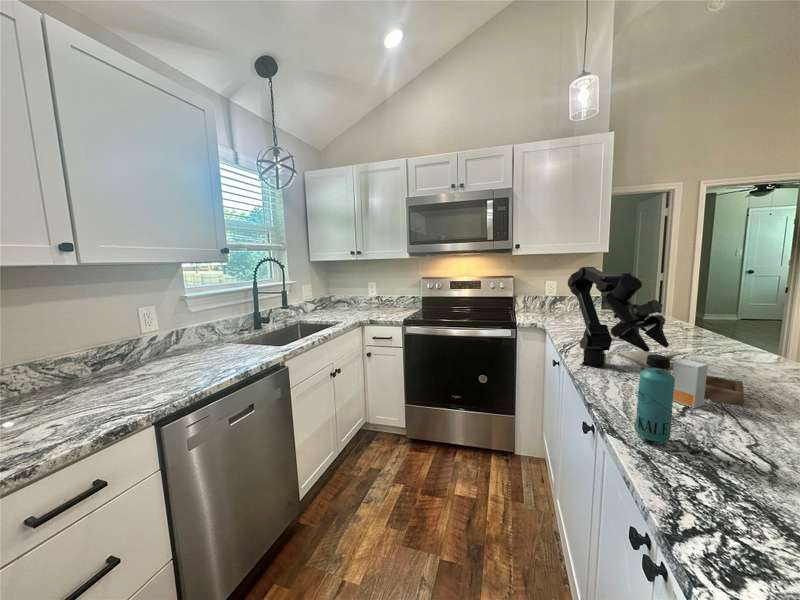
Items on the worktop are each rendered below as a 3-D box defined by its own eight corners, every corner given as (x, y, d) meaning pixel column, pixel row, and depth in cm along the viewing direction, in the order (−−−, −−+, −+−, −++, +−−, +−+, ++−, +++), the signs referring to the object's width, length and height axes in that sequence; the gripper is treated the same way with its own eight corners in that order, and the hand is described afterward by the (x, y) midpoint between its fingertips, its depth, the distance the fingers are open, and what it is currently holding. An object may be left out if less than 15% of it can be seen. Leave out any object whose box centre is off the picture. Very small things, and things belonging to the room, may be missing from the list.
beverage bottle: (653, 432, 77) (660, 351, 74) (678, 448, 71) (686, 360, 68) (627, 433, 77) (632, 352, 74) (649, 450, 70) (656, 361, 68)
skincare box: (669, 400, 93) (672, 360, 91) (678, 397, 94) (682, 358, 93) (694, 409, 87) (698, 366, 86) (704, 406, 89) (708, 364, 87)
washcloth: (649, 371, 116) (650, 363, 116) (615, 356, 134) (615, 349, 133) (681, 370, 116) (682, 362, 116) (643, 355, 134) (643, 348, 134)
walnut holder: (684, 394, 96) (685, 383, 96) (687, 382, 105) (688, 372, 104) (742, 406, 88) (744, 394, 87) (741, 392, 96) (742, 381, 96)
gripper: (622, 293, 95) (662, 338, 87) (661, 289, 103) (701, 330, 94) (596, 316, 104) (629, 358, 95) (633, 310, 111) (667, 349, 102)
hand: (658, 349), depth 96 cm, fingers open, 9 cm apart
